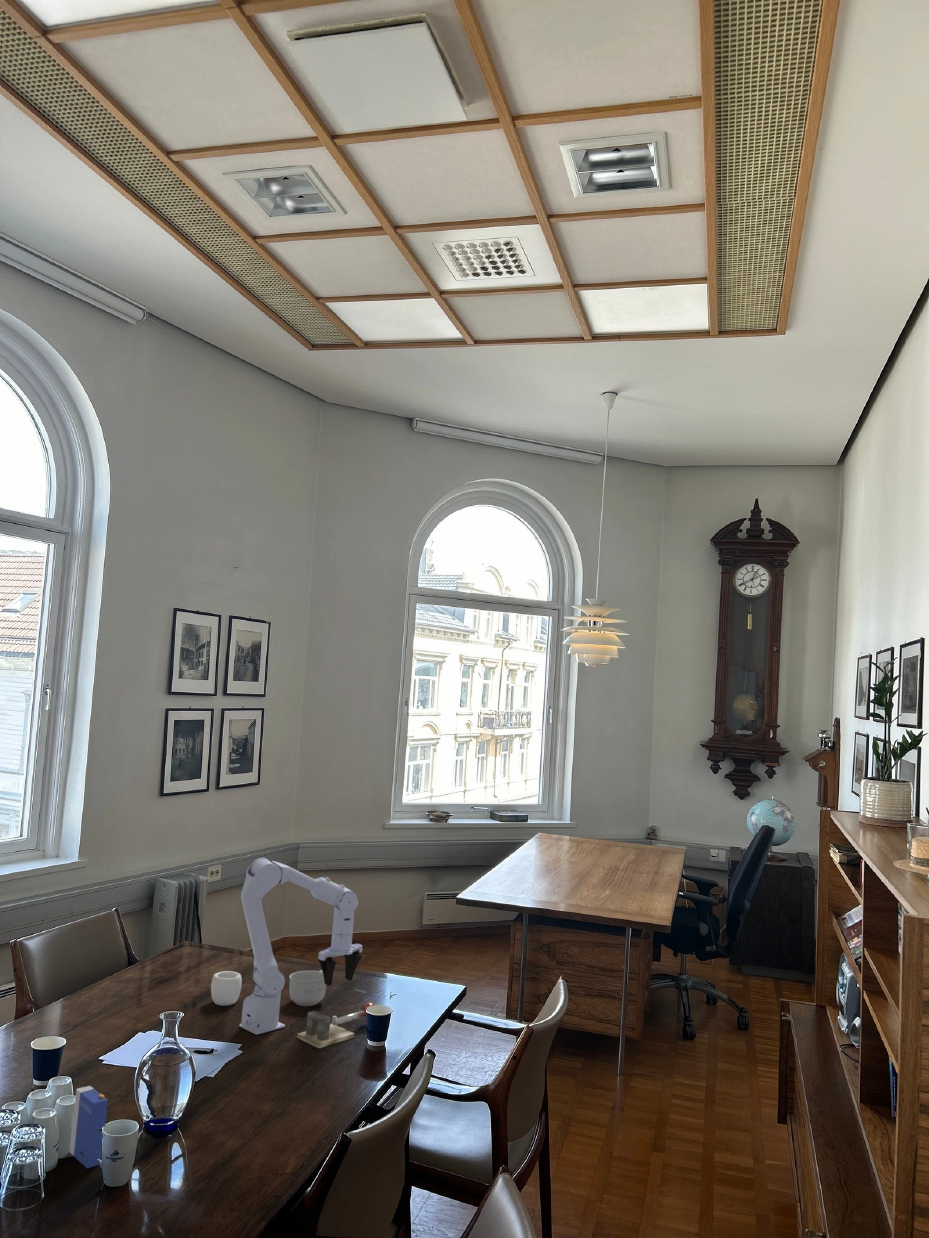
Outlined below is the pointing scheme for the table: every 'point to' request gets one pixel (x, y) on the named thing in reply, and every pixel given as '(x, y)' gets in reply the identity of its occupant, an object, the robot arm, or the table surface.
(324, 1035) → the eye bracket
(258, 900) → the robot arm
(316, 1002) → the teacup
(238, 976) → the mug
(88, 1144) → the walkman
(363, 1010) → the hook rod
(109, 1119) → the table surface
